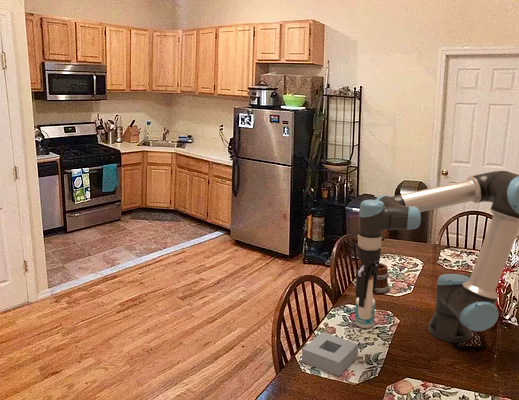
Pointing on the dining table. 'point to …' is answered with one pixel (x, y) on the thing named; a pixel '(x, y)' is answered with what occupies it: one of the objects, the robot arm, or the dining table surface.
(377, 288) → the mug
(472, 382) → the dining table surface
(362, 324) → the pill bottle
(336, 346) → the socket
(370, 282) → the peg
